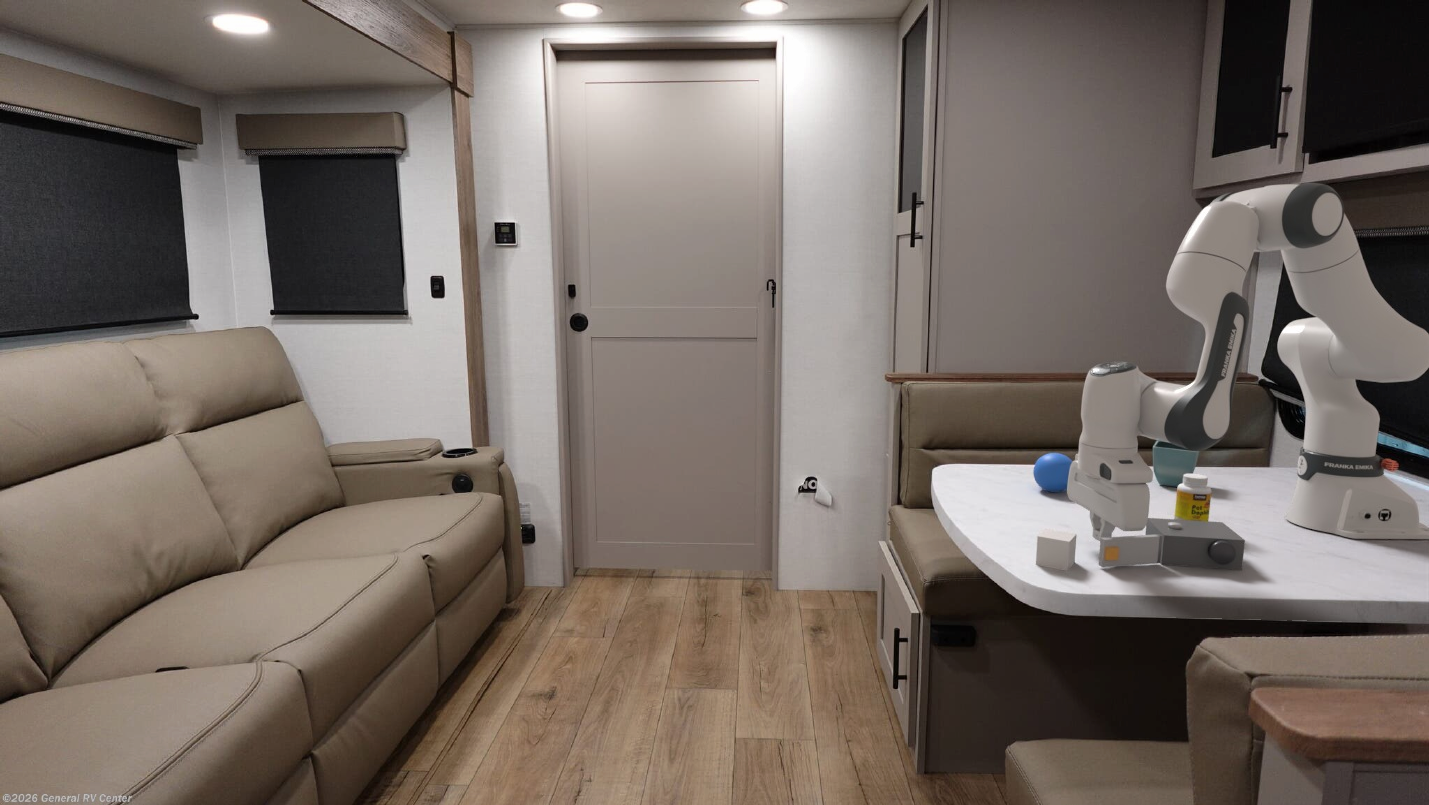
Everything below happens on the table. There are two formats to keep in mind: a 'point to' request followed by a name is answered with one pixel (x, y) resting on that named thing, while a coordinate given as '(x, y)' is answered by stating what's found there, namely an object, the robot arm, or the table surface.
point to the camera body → (1197, 543)
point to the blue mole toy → (1052, 472)
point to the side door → (1130, 550)
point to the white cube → (1056, 549)
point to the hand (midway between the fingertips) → (1101, 540)
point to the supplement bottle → (1193, 498)
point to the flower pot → (1172, 463)
